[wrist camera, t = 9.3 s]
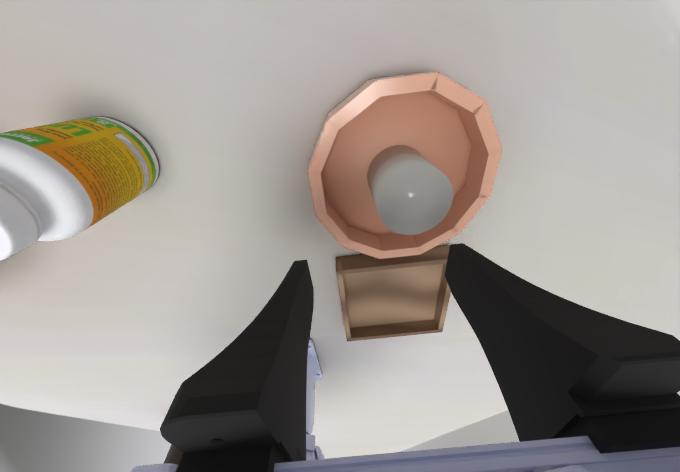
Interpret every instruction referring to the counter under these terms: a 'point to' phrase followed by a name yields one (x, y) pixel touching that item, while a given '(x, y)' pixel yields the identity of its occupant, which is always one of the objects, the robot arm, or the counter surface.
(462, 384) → the counter surface
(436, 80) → the bowl
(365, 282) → the tray
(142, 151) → the supplement bottle
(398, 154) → the stone
